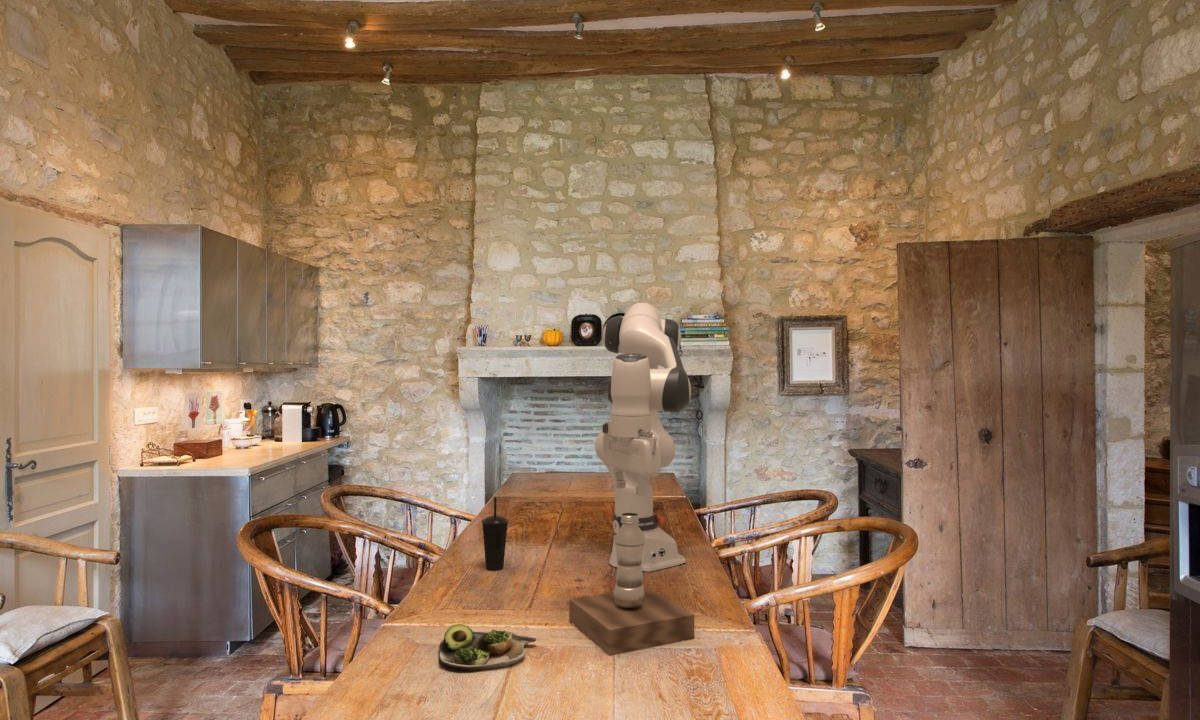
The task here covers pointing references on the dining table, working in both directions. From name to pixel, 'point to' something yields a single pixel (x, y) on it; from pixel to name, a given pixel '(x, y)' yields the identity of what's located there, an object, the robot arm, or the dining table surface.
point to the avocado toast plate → (479, 648)
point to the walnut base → (631, 622)
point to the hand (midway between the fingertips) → (630, 491)
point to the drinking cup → (494, 540)
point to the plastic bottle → (629, 562)
